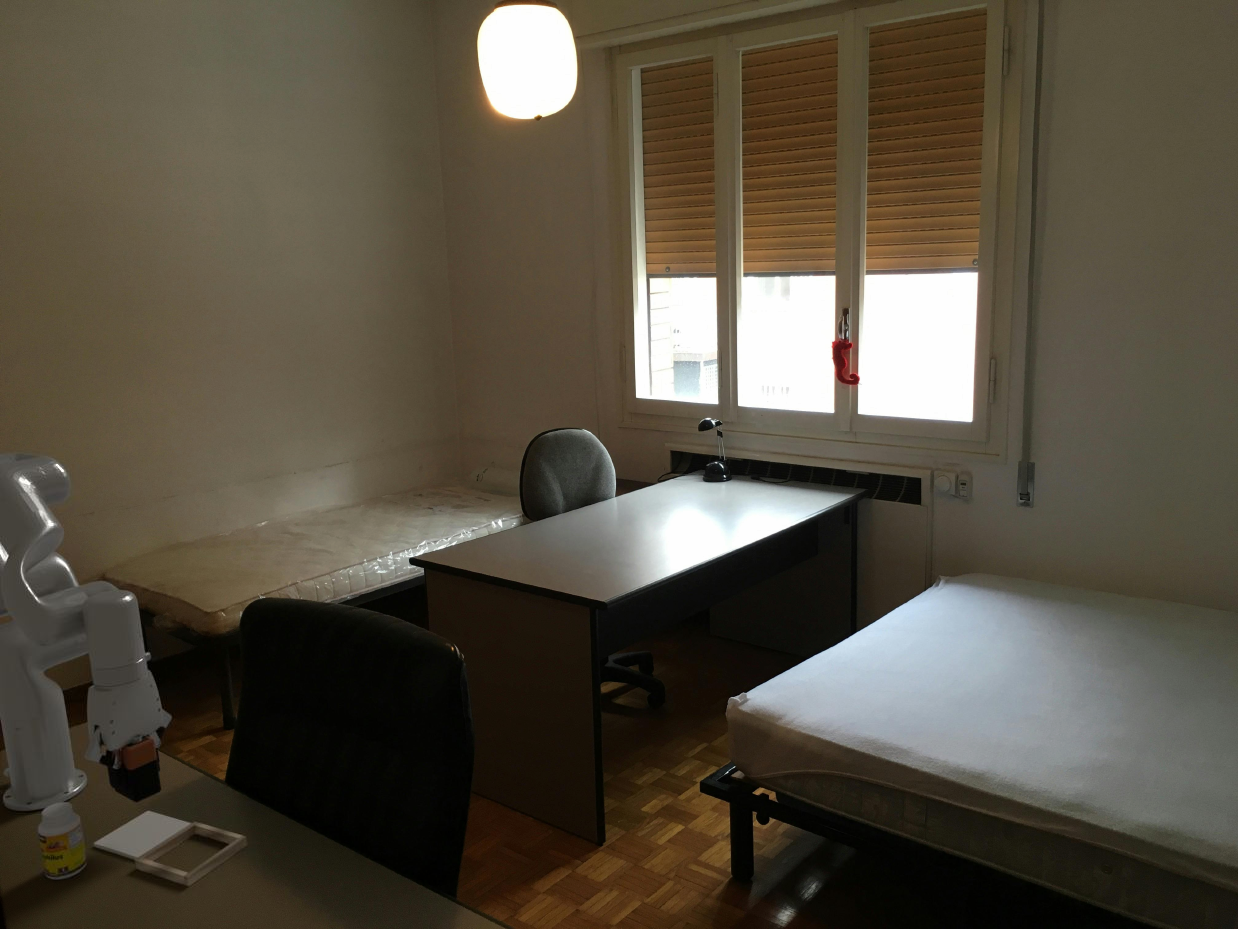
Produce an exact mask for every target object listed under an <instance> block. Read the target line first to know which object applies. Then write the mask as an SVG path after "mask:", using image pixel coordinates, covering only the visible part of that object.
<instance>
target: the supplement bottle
mask: <svg viewBox="0 0 1238 929" xmlns="http://www.w3.org/2000/svg"><path fill="white" fill-rule="evenodd" d="M73 809H74V808H73V804H72V803H70V802H67V801H64V802H61V803H56V804H53V805H51V806H48V807H47V808H43V810H42V811H41V822H40V823H39V824H38V828H37V832H38V833H37V834H38V839H39V844H40V852H41V858H42V863H43V870H44V874H45V877H47V878H48V879H50V880H54V881H55V880H58V881H59V880H64V879H69V878H71V877H73V876H75V875H77V874H79V873H81V871H82V870H84V868H85V867H86V865H87V862H88V859H87V852H86V847H85V839H84V838H85V837H84V833H83V827H82V820H81V816H80V815H79V813H76V812H74V810H73Z"/></svg>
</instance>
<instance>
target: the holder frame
mask: <svg viewBox="0 0 1238 929" xmlns="http://www.w3.org/2000/svg"><path fill="white" fill-rule="evenodd" d="M198 834H199V836H201V837H204V838H208V837H209V839H212V840H214V841H219V842H221V843H222V842H223V843H226V844H228V845H227V846H225V847H224V848H223V849H221V850H219V851H218V852H216V853H215V854H214V855H212V856H211V857H209V858H208V859H206V860H205V861H204V862H201V863H200V864H199V865H197V866H196V867H195V868H193V869H192V870H191V871H189V872H187V871H183V870H181V869H178V868H174V867H172V866H169V865H166V864H162V863H160V862H156V860H158V859H159V858H160V857H162V856H164V855H165V854H167V853H169V852H170V851H171V850H173V849H175V848H177V847H178V846H179V845H181V844H182V843H184V842H185V841H187V840H188V839H190V838H191V837H193V836H195V835H198ZM183 841H184V842H183ZM180 843H181V844H180ZM247 846H248V839H247V836H245V835H242V834H239V833H236V832H233V831H228V830H224V829H221V828H219V827H214V826H212V825H208V824H206V823H205V824H204V823H201V822H197V821H193V822H191V824H190V825H189V826H187V827H186V828H184V829H183V830H181V831H179V832H178V833H176V834H175V835H173V836H172V837H170V838H168V839H167V840H165V841H164V842H162V843H161V844H159V845H158V846H156V847H154V848H153V849H151V850H150V851H148V852H147V853H145V854H143V855H142V856H140V857H139V858H137V859H136V860H134V864H135V869H136V870H138V869H139V871H141V872H144V873H147V874H150V873H151V874H150V875H154V876H157V877H160V878H162V879H166V880H168V881H171V882H175V883H177V884H180V885H184V886H187V887H191V886H192V885H193V884H195V883H196V882H197V881H199V880H200V879H202V878H203V877H204V876H206V875H207V874H209V873H210V872H211V871H213V870H215V869H216V868H217V867H218V866H219V867H220V866H221V864H224V862H226V861H227V860H228V859H230V858H231V857H233V856H234V855H235V854H238V852H240V851H241V850H243V849H244V848H246V847H247Z"/></svg>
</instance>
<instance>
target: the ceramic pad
mask: <svg viewBox="0 0 1238 929" xmlns="http://www.w3.org/2000/svg"><path fill="white" fill-rule="evenodd" d="M190 824H192V822H188V821H185V820H180V819H178V818H175V817H171V816H168V815H164V814H161V813H157V812H154V811H151V810H147V811H145V812H144V813H142V814H140V815H138V816H136V817H134V818H133V819H131V820H130V821H128V822H127V823H125V824H123V825H121V826H119V827H118V828H116V829H115V830H113V831H111V832H110V833H108V834H107V835H104V836H103V837H101V838H100V839H98V840H96V841H95V842H93V847H94V848H98V849H101V850H103V851H106V852H110V853H112V854H115V853H116V855H119V856H122V857H125V858H127V859H131V860H133V861H135V860H136V859H137V858H139V857H140V856H142V855H143V854H145V853H147V852H148V851H150V850H151V849H153V848H154V847H156V846H158V845H159V844H161V843H162V842H164V841H165V840H167V839H168V838H170V837H172V836H173V835H175V834H176V833H178V832H179V831H181V830H183V829H184V828H186V827H187V826H189V825H190Z"/></svg>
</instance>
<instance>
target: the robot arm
mask: <svg viewBox="0 0 1238 929" xmlns="http://www.w3.org/2000/svg"><path fill="white" fill-rule="evenodd" d="M71 481H72V480H71V477H70V474H69V473H68V471H67V470H66V468H65V466H63V464H61V463H60V461H58V460H57V459H55V458H53V457H51V456H48V455H44V454H37V453H29V452H19V451H17V452H13V451H12V452H7V453H0V618H3V617H6V616H10V617H11V619H12V620H10V621H7V622H5V623H3V624H0V724H1V729H2V734H3V735H2V736H3V742H4V747H5V751H6V752H5V753H6V758H7V764H8V768H5V769H4V770H3V776H5V777H8V778H9V779H10V780H9V781H10V787H9V788H8V789H7V790H6V791H4V794H3V797H2V799H3V804H4V806H5V807H6V808H7V809H8V810H11V811H19V812H29V811H36V810H42V809H43V810H44V809H45V808H47V807H48V806H51V805H53V804H56V803H61V802H67V801H68V800H70V799H72V798H73V797H75V796H76V795H78V794H79V793H80V792H82V790H83V789H85V787H86V785H87V783H88V778H87V777H88V776H87V774H86V773H85V772H84V771H83V770H81V769H78V768H76V767H75V762H74V761H75V760H74V755H73V750H72V742H71V736H70V735H71V734H70V728H69V722H68V717H67V711H66V704H65V698H64V694H63V691H62V688H61V687H60V686H59V684H58V683H57V682H55V681H54V680H52V679H51V678H49V677H48V676H46V674H45V673H44V672H45V671H46V670H48V669H50V668H53V667H54V666H57V665H59V664H62V663H66V662H69V661H71V660H75V659H76V658H79V657H80V658H81V657H83V656H84V655H86V654H88V658H89V662H90V669H91V670H90V671H91V678H92V681H93V682H92V683H93V685H91V686H89V687H88V692H87V700H86V701H87V703H86V714H87V715H86V716H87V729H88V730H87V731H88V738H89V744H88V747H86V750H85V753H84V756H83V757H84V759H85V760H88V761H92V762H96V763H98V764H100V765H103V767H107V773H108V774H107V775H108V781H109V784H110V786H111V788H112V789H114V790H115V789H118V790H122V791H126V790H127V789H128V780H127V774H126V768H125V766H123V765H121V764H122V755H123V747H125V746H127V745H129V744H131V743H132V742H134V741H132V739H135V738H137V737H140V736H141V734H142V737H144V736H148V737H150V738H152V739H154V743H155V749H156V756H157V763H158V770H159V772H161V768H160V756H159V749H158V748H160V746H161V744H162V742H161V740H162V738H163V736H164V734H165V731H166V728H167V727H168V725H169V723H170V722H171V721H172V718H173V717H172V715H171V714H170V713H168V712H167V711H166V710H165V709H163V708H162V704H161V702H162V701H161V698H160V695H159V690H158V687H157V684H156V681H155V678H154V675H153V673H152V672H151V670H150V669H148V664H147V662H148V661H150V660H151V659H152V655H151V653H150V652H149V651H145V644H144V637H143V629H142V623H141V622H142V621H141V616H140V609H139V608H140V607H139V603H138V599H137V596H136V595H135V593H133V592H131V591H129V590H124V589H119V588H117V587H116V586H115V585H113V584H112V583H110V582H109V581H106V580H98V581H92V582H91V581H90V582H87V583H85V584H81V585H80V584H79V582H78V579H77V577H76V574H75V573H74V571H73V569H72V567H71V565H70V564H69V562H68V560H67V559H66V558H65V557H63V555H61V554H60V553H58V552H56V550H57V548H59V547H60V546H61V543H62V542H63V540H64V538H65V531H64V530H65V529H64V527H63V526H62V524H61V523H60V522H59V520H58V519H57V517H56V516H55V515H54V513H53V511H52V510H51V508H50V506H54V505H59V504H63V503H64V502H65V501H67V500H68V498H69V497H70V495H71V493H72V482H71ZM102 747H103V753H100V752H101V748H102ZM113 751H114V754H113ZM112 754H113V758H112Z"/></svg>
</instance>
